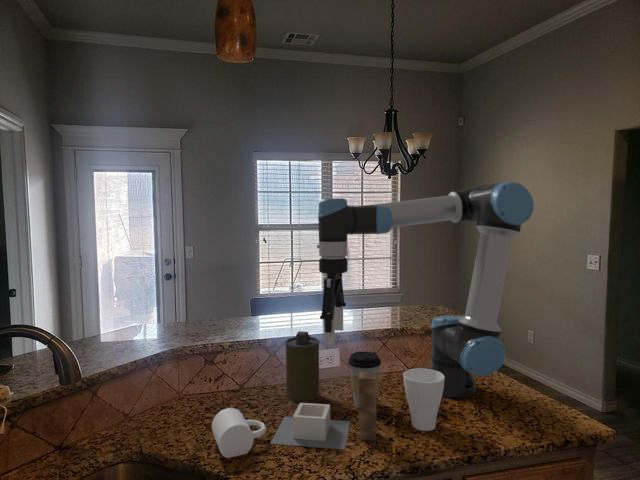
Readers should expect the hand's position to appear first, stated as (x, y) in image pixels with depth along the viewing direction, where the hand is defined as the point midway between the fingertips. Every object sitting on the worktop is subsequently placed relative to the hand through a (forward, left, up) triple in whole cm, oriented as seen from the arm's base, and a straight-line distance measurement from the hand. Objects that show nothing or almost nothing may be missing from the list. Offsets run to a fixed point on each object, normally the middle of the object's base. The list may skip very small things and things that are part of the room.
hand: (334, 336), depth 116 cm
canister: (+12, -14, -23) cm, 29 cm away
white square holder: (+5, +8, -22) cm, 24 cm away
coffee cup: (-7, -10, -23) cm, 26 cm away
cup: (-23, -1, -23) cm, 33 cm away
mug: (+21, +16, -23) cm, 35 cm away
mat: (+5, +8, -23) cm, 25 cm away
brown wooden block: (-9, +8, -23) cm, 26 cm away
